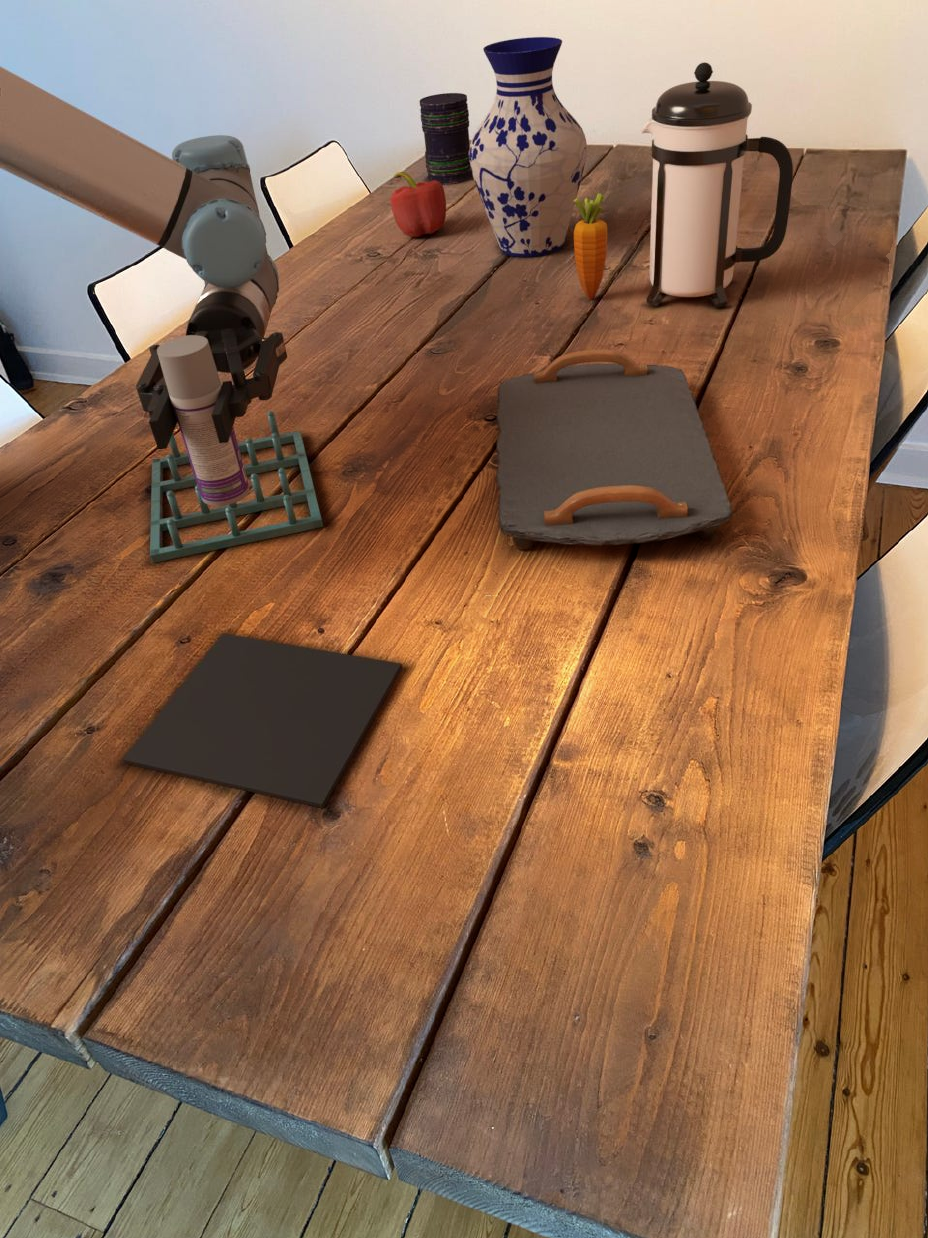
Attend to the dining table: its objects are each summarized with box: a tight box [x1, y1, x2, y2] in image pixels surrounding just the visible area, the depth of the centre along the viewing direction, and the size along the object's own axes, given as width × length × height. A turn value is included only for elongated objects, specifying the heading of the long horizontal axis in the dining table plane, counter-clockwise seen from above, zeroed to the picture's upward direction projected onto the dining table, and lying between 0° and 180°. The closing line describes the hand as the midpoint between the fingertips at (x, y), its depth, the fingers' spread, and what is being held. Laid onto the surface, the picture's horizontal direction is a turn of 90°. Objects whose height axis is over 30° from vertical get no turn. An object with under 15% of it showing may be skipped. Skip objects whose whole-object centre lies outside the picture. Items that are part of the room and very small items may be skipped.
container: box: [157, 335, 251, 507], centre depth 87 cm, size 5×5×15 cm
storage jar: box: [418, 92, 474, 185], centre depth 195 cm, size 10×10×15 cm
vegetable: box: [390, 171, 447, 238], centre depth 170 cm, size 11×10×10 cm
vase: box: [469, 36, 588, 258], centre depth 153 cm, size 19×19×30 cm
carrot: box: [573, 192, 608, 301], centre depth 137 cm, size 5×5×15 cm
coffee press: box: [640, 62, 794, 309], centre depth 130 cm, size 17×16×30 cm
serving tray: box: [495, 348, 733, 552], centre depth 104 cm, size 39×23×6 cm, turn 179°
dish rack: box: [149, 410, 324, 564], centre depth 106 cm, size 18×21×4 cm
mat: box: [122, 632, 403, 809], centre depth 79 cm, size 18×16×1 cm
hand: (188, 431), depth 81 cm, fingers closed on container, 5 cm apart
